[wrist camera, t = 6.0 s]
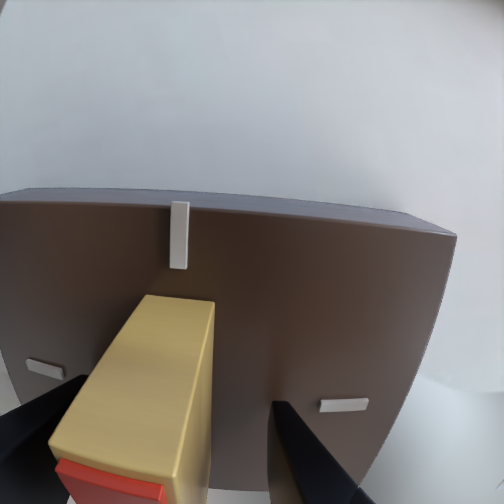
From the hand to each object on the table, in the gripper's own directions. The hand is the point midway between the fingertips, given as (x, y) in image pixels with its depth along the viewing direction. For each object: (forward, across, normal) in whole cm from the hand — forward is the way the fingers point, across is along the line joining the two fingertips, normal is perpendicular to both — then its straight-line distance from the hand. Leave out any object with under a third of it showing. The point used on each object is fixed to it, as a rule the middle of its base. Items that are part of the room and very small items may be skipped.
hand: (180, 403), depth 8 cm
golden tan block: (0, 0, 0) cm, 0 cm away
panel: (+3, 0, 0) cm, 3 cm away
